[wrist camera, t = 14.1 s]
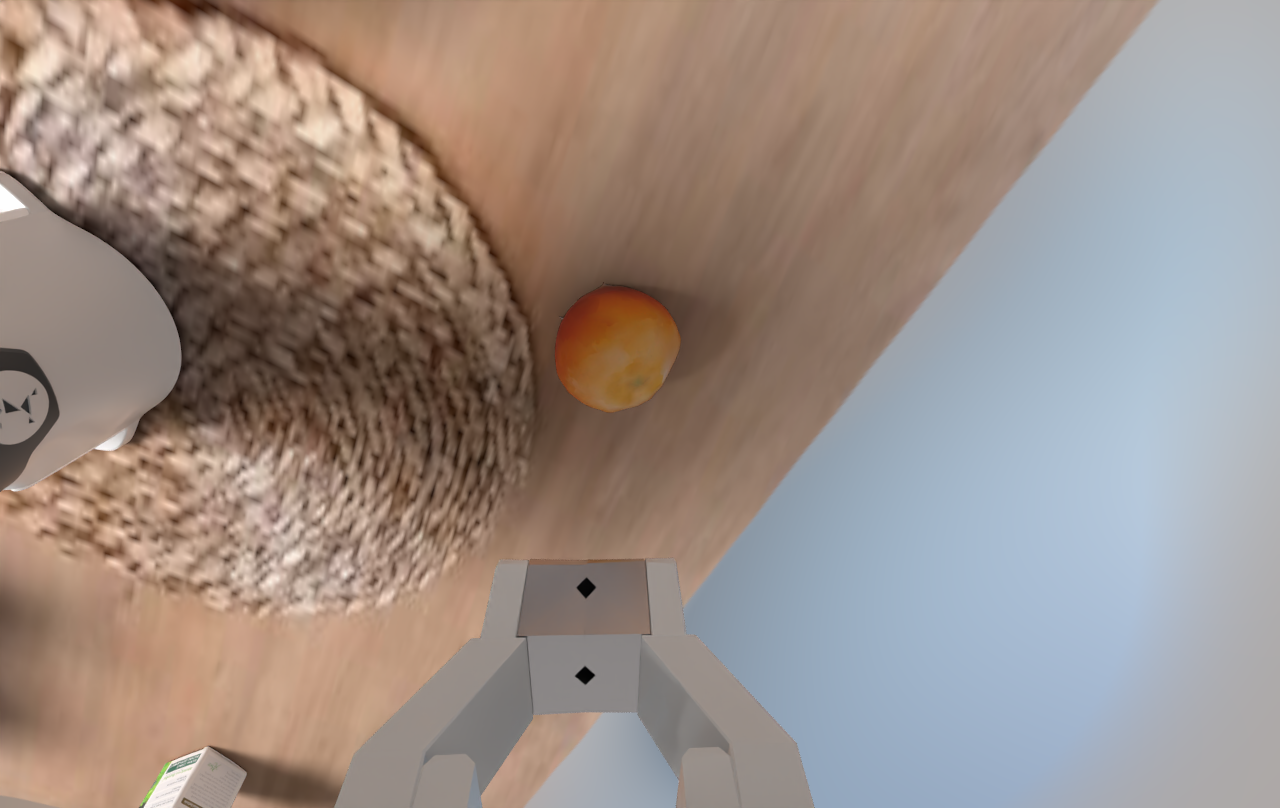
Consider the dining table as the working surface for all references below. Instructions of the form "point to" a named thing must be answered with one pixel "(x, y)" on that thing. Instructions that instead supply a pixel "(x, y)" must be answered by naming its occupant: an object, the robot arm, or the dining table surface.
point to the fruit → (615, 348)
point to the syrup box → (196, 782)
